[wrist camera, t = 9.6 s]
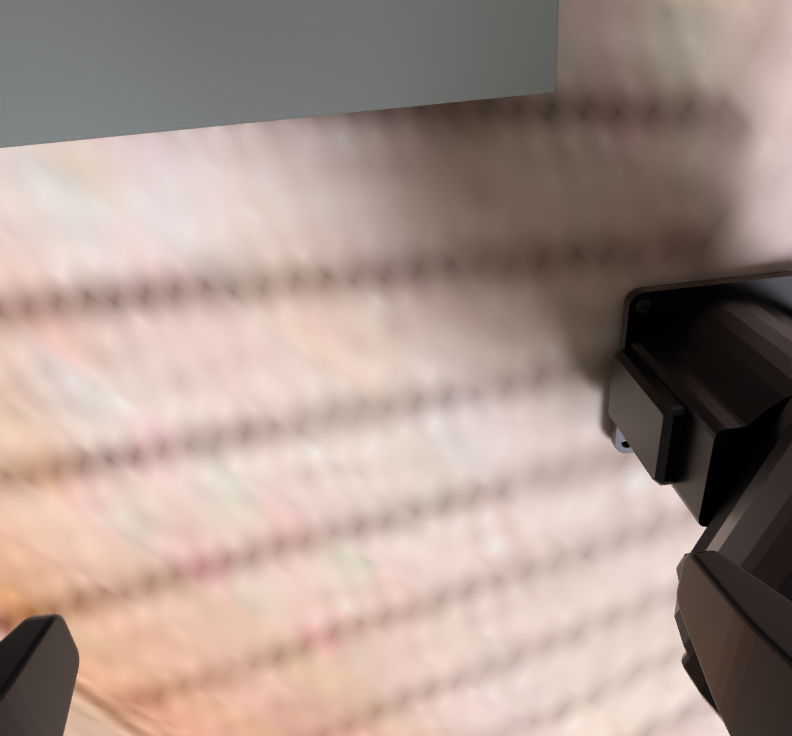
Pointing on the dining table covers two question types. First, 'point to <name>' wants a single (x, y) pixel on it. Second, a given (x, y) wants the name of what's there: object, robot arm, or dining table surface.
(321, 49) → the hole block
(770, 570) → the robot arm
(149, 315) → the dining table surface
